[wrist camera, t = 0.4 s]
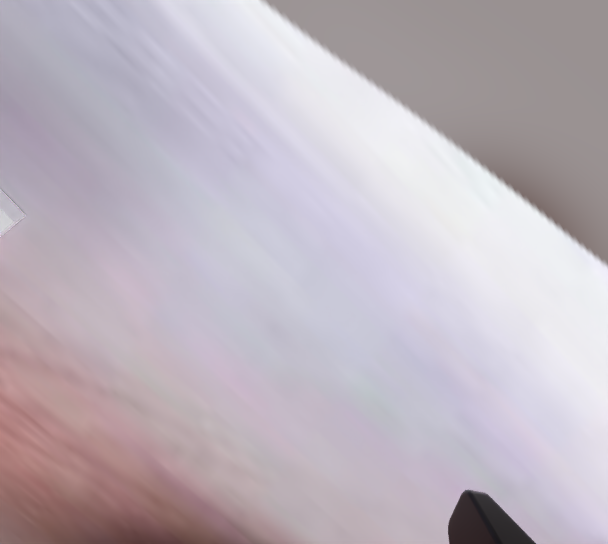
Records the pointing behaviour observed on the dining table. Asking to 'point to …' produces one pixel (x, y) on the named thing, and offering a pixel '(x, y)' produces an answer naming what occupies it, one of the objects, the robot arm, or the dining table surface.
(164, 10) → the dining table surface
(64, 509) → the dining table surface
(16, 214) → the tray
